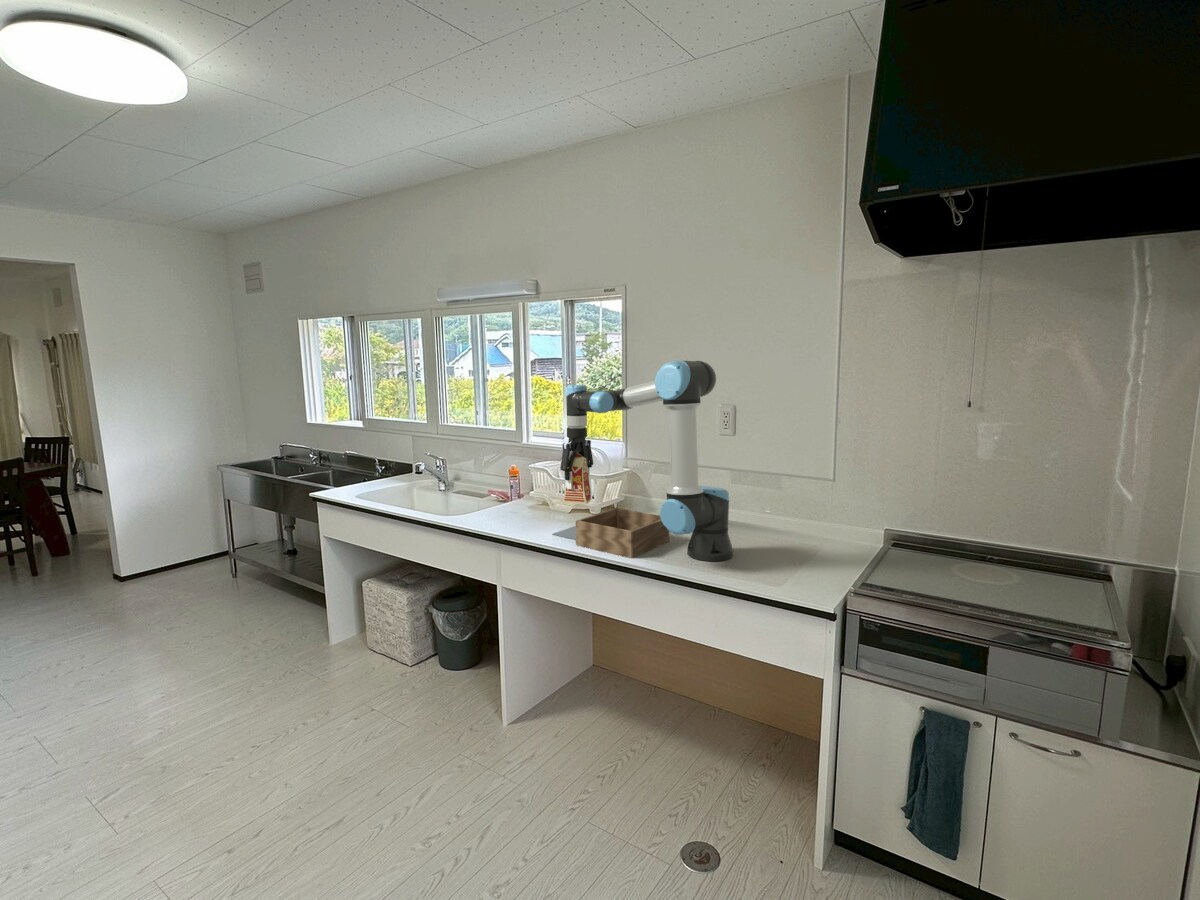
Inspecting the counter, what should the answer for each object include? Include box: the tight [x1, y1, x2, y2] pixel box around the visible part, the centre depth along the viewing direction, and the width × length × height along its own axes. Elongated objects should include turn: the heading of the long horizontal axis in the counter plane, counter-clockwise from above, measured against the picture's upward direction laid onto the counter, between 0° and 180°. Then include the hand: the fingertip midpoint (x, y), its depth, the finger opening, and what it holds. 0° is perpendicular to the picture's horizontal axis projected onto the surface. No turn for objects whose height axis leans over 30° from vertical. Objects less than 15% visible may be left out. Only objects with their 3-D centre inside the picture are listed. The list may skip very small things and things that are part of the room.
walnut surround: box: [575, 507, 670, 559], centre depth 219 cm, size 24×24×9 cm
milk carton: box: [562, 452, 592, 505], centre depth 229 cm, size 9×9×20 cm
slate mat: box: [551, 525, 576, 541], centre depth 232 cm, size 14×14×1 cm
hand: (577, 486), depth 230 cm, fingers closed on milk carton, 9 cm apart
